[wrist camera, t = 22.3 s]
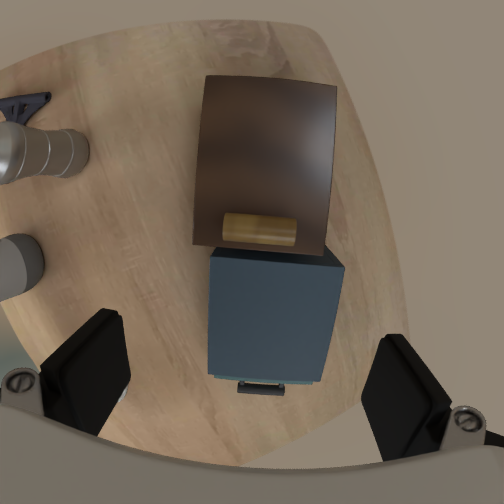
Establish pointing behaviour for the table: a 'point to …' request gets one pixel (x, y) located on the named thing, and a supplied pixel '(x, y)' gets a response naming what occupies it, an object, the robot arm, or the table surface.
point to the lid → (264, 164)
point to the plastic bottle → (40, 152)
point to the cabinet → (271, 313)
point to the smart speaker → (19, 265)
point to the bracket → (23, 106)
